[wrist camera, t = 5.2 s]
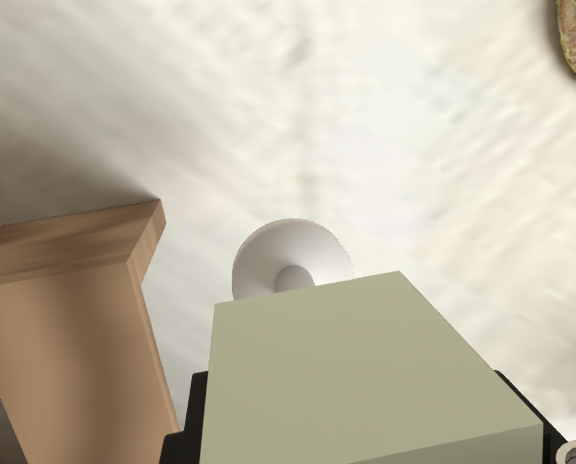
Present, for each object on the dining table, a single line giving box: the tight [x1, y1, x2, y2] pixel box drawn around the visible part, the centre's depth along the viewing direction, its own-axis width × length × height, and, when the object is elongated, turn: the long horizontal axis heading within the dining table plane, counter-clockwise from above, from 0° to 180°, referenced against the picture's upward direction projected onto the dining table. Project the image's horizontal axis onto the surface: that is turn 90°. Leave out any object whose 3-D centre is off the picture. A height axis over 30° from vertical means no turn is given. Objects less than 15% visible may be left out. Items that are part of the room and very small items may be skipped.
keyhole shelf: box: [0, 200, 180, 464], centre depth 25 cm, size 20×22×10 cm
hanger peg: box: [199, 219, 543, 464], centre depth 13 cm, size 5×5×13 cm
